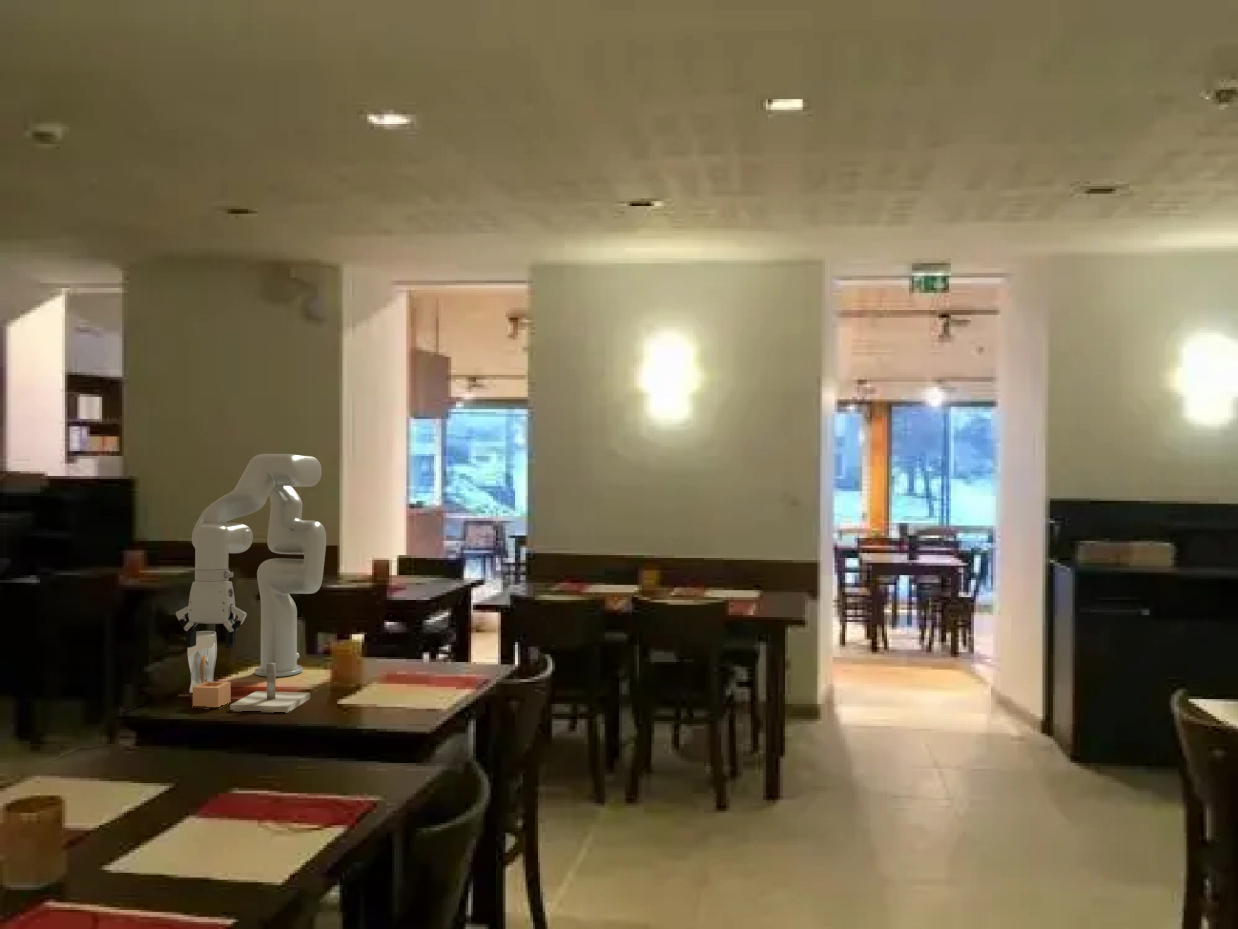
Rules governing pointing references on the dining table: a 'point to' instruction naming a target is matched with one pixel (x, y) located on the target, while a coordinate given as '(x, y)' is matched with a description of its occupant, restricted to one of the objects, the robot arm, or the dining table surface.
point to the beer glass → (202, 658)
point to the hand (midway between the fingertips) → (210, 647)
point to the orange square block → (212, 694)
